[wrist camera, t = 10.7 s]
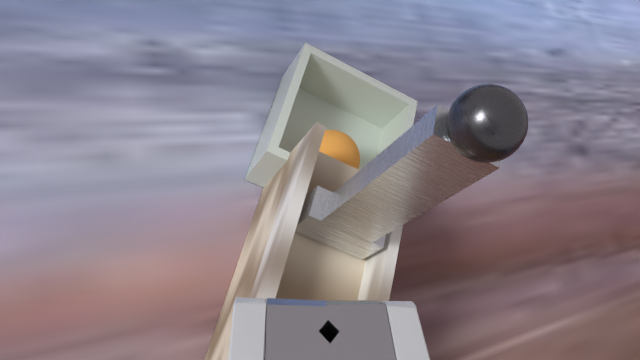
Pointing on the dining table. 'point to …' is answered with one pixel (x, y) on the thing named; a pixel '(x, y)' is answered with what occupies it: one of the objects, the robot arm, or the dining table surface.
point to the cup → (329, 111)
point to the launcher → (301, 245)
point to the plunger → (418, 171)
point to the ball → (340, 147)
